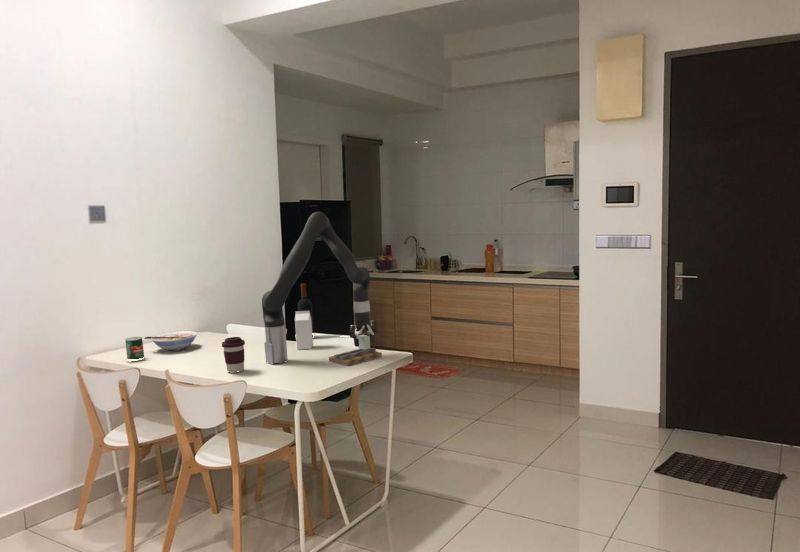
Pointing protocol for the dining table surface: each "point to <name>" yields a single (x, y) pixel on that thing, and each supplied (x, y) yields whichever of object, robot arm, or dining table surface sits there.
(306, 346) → the milk carton
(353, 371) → the dining table surface
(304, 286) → the wine bottle
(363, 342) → the fader
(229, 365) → the coffee cup
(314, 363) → the dining table surface
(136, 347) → the canned tomato
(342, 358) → the brown flat piece
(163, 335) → the ramen bowl
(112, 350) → the dining table surface
